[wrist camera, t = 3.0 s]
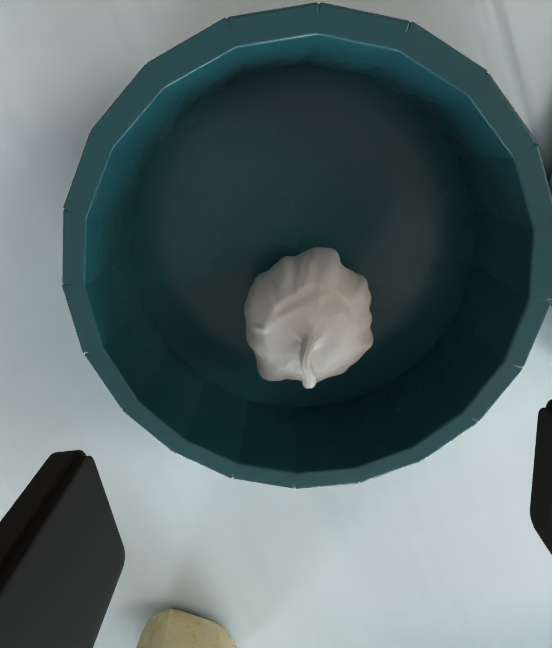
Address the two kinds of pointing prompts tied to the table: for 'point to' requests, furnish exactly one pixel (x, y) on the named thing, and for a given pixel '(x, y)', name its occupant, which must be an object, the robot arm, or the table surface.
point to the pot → (308, 240)
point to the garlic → (308, 317)
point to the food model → (183, 632)
